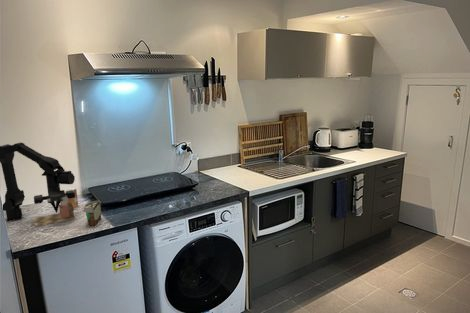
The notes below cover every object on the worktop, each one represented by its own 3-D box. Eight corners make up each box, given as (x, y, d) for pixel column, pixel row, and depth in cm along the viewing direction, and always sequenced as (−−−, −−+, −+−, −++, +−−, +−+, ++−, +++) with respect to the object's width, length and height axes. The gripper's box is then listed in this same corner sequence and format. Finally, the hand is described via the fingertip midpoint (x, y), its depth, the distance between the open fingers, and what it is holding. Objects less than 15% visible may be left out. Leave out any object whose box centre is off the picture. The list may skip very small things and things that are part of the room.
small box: (69, 210, 191) (67, 193, 189) (60, 210, 192) (58, 192, 190) (78, 205, 199) (76, 188, 197) (70, 205, 200) (68, 188, 198)
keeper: (61, 218, 177) (60, 208, 176) (60, 214, 182) (58, 204, 181) (69, 216, 179) (68, 206, 178) (68, 213, 185) (67, 203, 183)
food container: (90, 218, 180) (88, 200, 178) (102, 218, 181) (100, 200, 178) (82, 228, 168) (79, 209, 166) (94, 227, 169) (92, 208, 166)
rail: (35, 227, 171) (33, 213, 169) (34, 221, 177) (32, 208, 176) (74, 218, 180) (72, 206, 178) (72, 214, 187) (70, 202, 185)
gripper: (32, 190, 164) (36, 221, 167) (75, 184, 173) (78, 213, 176) (32, 185, 173) (35, 214, 176) (72, 179, 182) (75, 207, 186)
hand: (56, 212), depth 178 cm, fingers closed
